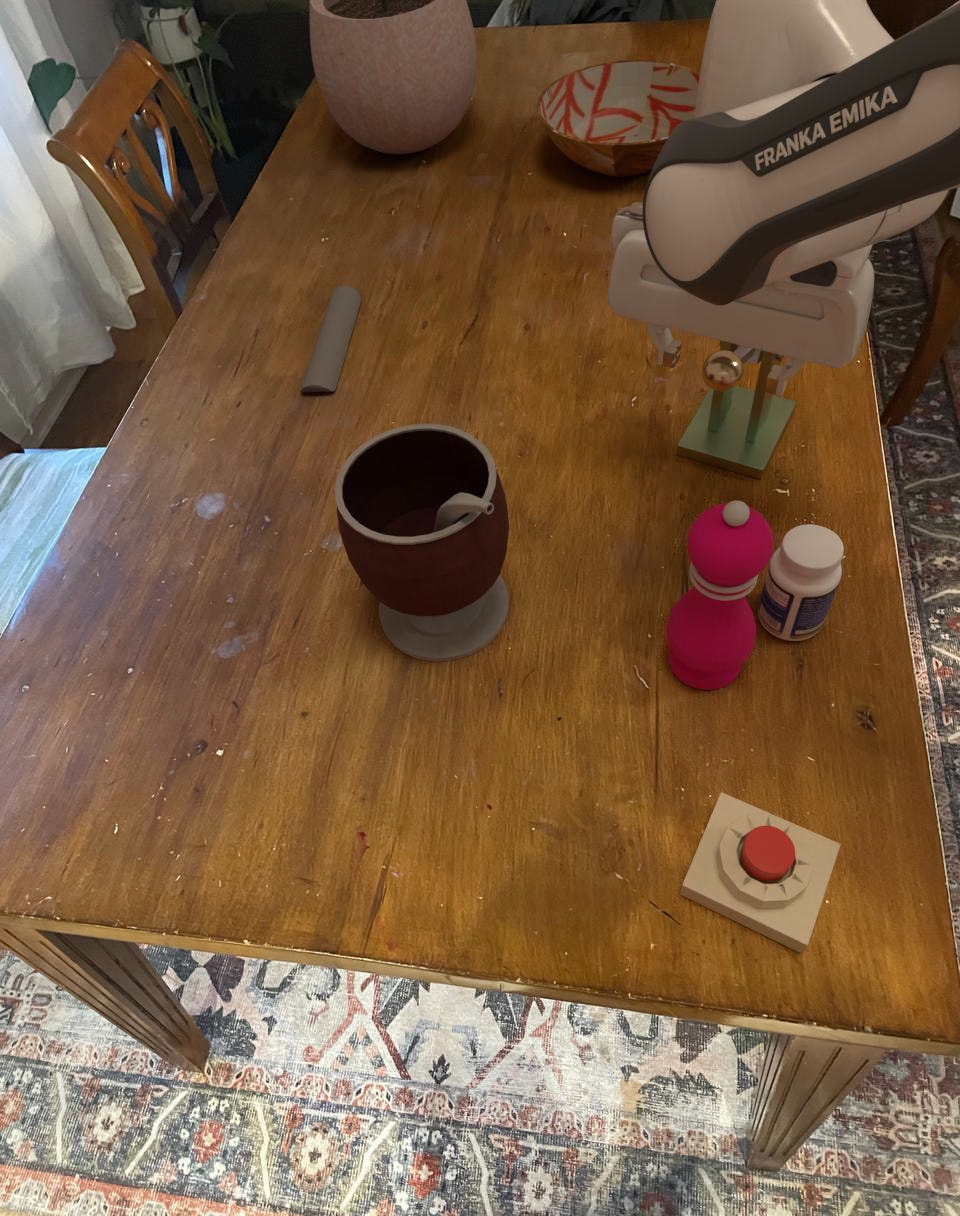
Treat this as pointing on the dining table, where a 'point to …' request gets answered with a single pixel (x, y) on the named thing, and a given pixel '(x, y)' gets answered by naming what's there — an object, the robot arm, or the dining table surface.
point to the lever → (728, 367)
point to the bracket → (738, 424)
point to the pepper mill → (718, 596)
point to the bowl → (618, 113)
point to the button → (767, 853)
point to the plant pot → (394, 68)
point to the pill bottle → (801, 582)
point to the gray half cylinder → (332, 341)
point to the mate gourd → (428, 537)
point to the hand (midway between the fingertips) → (720, 375)
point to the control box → (751, 901)
